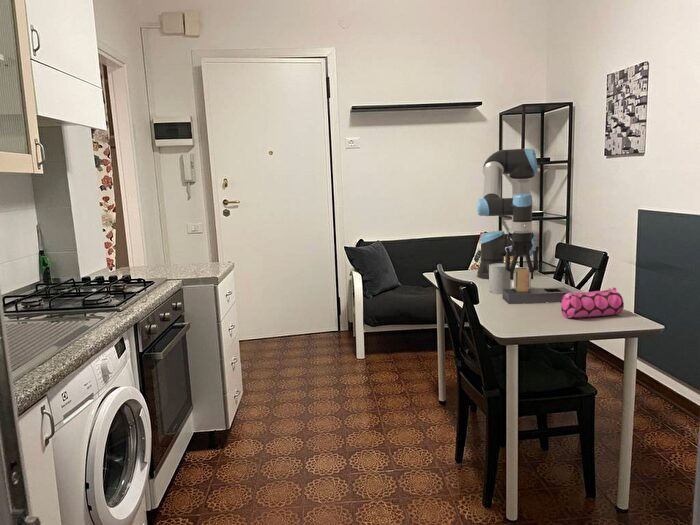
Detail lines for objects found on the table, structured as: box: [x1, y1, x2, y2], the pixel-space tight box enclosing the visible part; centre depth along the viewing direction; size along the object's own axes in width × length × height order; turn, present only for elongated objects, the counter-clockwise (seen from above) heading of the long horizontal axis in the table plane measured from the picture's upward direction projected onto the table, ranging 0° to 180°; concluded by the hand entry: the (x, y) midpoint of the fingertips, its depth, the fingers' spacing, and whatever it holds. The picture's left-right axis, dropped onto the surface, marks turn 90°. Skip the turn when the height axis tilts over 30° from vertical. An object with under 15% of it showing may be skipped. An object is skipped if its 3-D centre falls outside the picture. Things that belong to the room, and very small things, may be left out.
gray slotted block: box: [502, 286, 574, 305], centre depth 223 cm, size 10×26×4 cm, turn 88°
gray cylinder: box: [488, 262, 512, 295], centre depth 241 cm, size 10×10×12 cm
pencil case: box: [560, 287, 625, 319], centre depth 197 cm, size 21×10×10 cm, turn 103°
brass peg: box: [513, 266, 529, 293], centre depth 223 cm, size 4×4×14 cm
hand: (521, 287), depth 223 cm, fingers open, 5 cm apart
